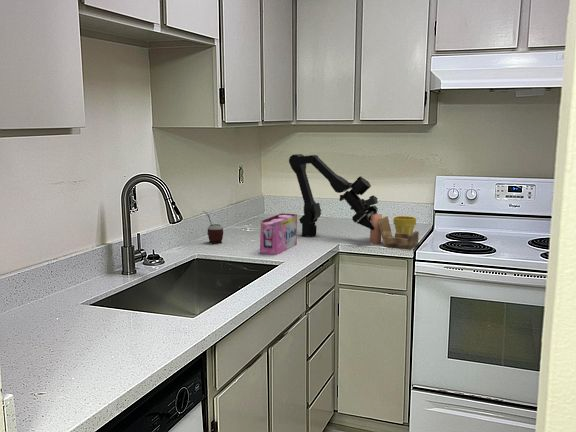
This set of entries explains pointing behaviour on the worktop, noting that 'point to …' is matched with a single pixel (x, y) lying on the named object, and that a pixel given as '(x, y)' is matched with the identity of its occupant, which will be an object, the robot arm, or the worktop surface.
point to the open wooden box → (403, 241)
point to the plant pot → (404, 224)
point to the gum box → (278, 233)
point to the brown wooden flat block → (385, 229)
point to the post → (376, 233)
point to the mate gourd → (214, 232)
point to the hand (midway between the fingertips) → (377, 227)
